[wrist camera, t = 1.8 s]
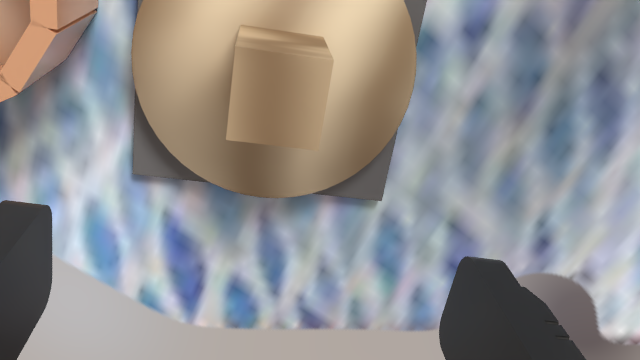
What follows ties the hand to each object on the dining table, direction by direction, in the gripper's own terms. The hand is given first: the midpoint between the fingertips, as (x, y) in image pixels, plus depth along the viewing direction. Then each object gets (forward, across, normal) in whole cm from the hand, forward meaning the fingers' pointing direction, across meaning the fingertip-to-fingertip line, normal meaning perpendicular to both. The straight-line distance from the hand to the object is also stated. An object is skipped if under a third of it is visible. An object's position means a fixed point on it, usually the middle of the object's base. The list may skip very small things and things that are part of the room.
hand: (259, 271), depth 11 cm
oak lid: (+20, -1, 0) cm, 20 cm away
